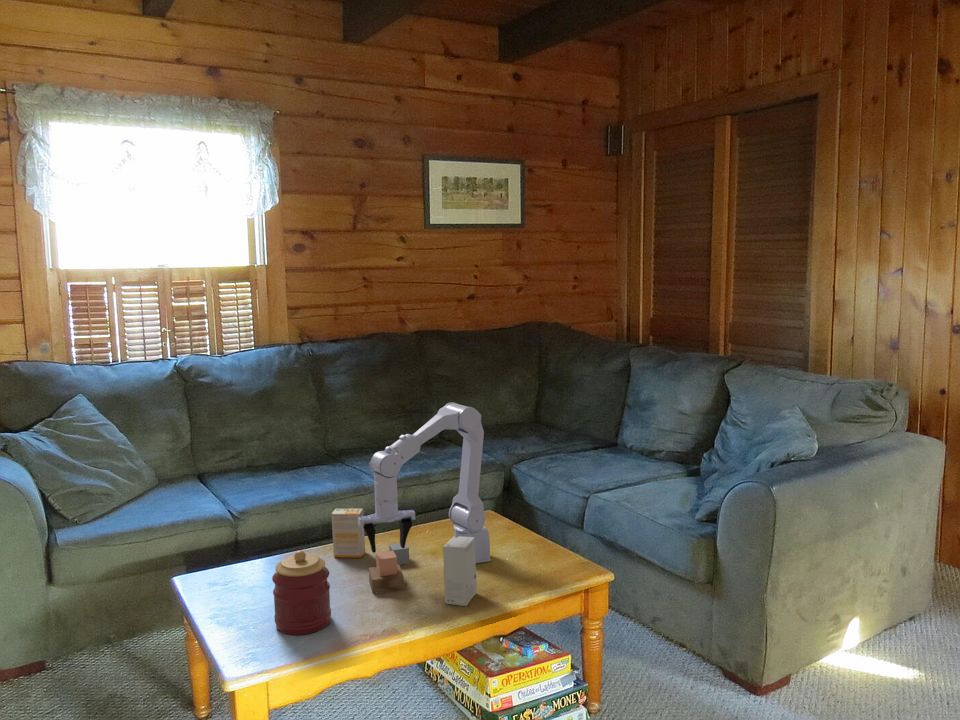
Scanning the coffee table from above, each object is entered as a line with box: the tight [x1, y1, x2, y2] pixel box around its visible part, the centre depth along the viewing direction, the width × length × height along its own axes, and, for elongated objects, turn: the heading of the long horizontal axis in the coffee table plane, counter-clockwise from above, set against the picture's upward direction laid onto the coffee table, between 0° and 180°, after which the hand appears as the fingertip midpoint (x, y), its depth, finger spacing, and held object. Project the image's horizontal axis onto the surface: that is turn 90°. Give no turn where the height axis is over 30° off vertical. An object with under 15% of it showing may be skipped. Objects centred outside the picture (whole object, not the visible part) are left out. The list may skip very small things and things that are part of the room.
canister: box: [271, 549, 332, 636], centre depth 188 cm, size 13×13×18 cm
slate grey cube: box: [388, 542, 410, 565], centre depth 224 cm, size 4×4×4 cm
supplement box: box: [331, 507, 366, 559], centre depth 229 cm, size 8×5×13 cm, turn 84°
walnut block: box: [368, 564, 405, 595], centre depth 209 cm, size 8×8×4 cm
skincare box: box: [442, 536, 478, 607], centre depth 200 cm, size 8×6×15 cm
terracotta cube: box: [375, 550, 397, 576], centre depth 208 cm, size 4×4×4 cm
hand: (388, 548), depth 209 cm, fingers open, 7 cm apart
